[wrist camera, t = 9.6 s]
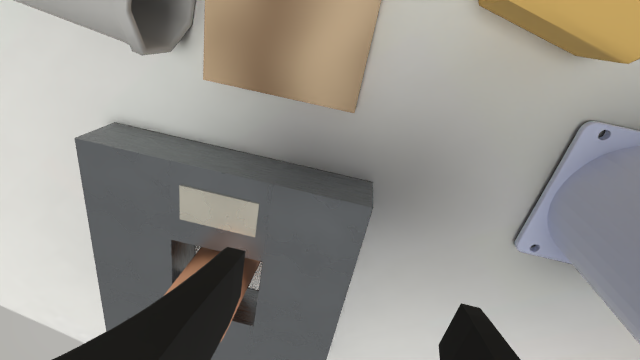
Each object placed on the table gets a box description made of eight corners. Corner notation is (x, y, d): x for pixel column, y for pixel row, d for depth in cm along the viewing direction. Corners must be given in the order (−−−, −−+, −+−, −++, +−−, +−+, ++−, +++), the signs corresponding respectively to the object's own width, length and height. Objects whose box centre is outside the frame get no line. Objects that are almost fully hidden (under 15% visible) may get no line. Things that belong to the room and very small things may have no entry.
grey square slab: (372, 182, 19) (372, 209, 16) (321, 354, 26) (315, 393, 24) (114, 122, 20) (73, 138, 17) (133, 306, 27) (106, 339, 24)
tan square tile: (398, -75, 14) (400, -82, 13) (355, 108, 17) (354, 113, 17) (218, -111, 14) (207, -120, 13) (211, 76, 18) (203, 79, 17)
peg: (263, 237, 22) (226, 306, 17) (257, 281, 24) (222, 356, 18) (206, 223, 22) (153, 287, 17) (205, 267, 24) (156, 337, 19)
